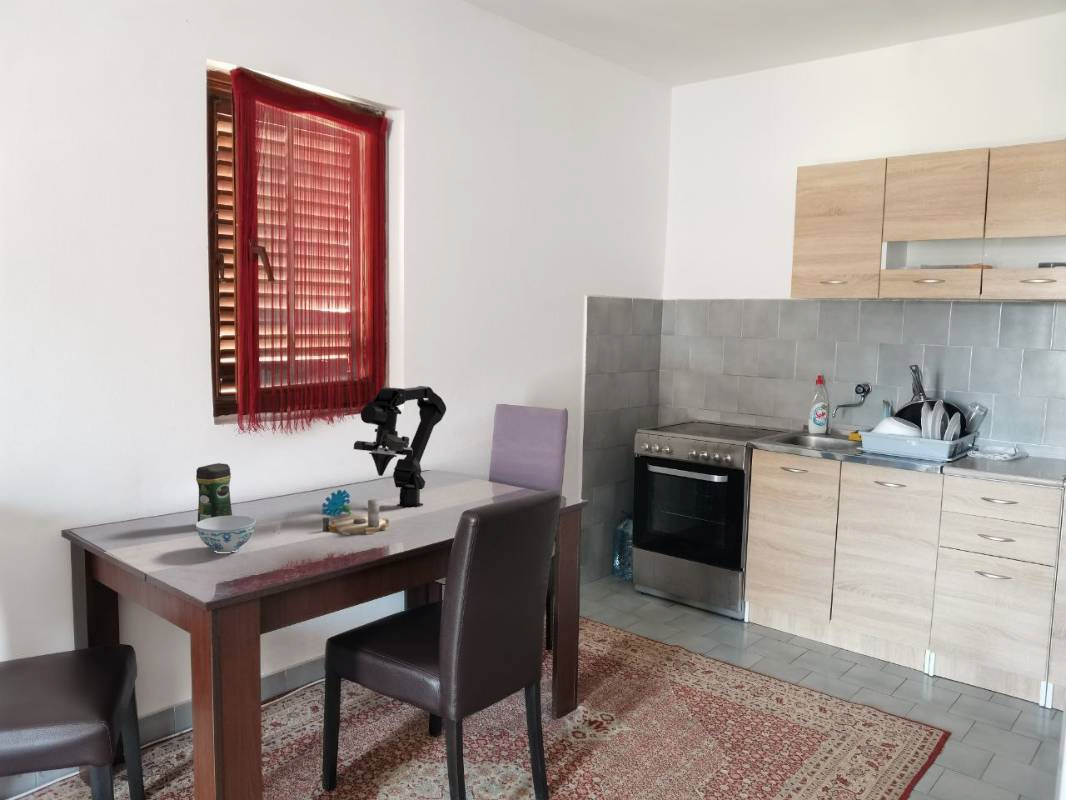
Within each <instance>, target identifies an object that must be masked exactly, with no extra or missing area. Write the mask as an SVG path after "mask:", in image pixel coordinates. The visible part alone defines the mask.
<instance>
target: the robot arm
mask: <svg viewBox="0 0 1066 800" xmlns="http://www.w3.org/2000/svg"><path fill="white" fill-rule="evenodd" d="M414 400H417V401H416V404H417V407H418V408H419V412H418V414H419V418H420V421H419V423H418V425H417V428H416V431H415V434H414V436H413V438H412V441H411V443H410V437H408V436H404V435H403V436H402V437H399V432H398V430H396V428H397V421H398V419H397V418H398V415H402V411H401V410H400V406H402V405H404V404H405V403H406V402H407V401H414ZM446 412H447V406H446V403H445V402H444V400H443V399H442V397H441V396H439V395H438V394H437V393H436V392H434V390H433V389H432V388H431V387H430V386H426V385H425V386H424V385H422V386H421V385H418V386H416V387H407V388H399V387H386V386H385V387H384V386H382V387H381V388H380V389H379V391H378V393H377V394H376V395H375V397H374V398H373V400H372V401H367V405H365V406H364V407H363V408H362V410H361V411H360V419H361V421H362V422H363V423H364V424H369V425H375V426H377V427H376V428H374V432H375V433H376V435H375V436H376V437H375V441H374V440H373V442H372V441H364V440H356V441H355V442H354V443H353V450H357V451H368V454H369V455H370V456H371V457H372V460H373V461H374V466H375V468H376V472H377V475H378V477H379V476H380V477H383V475H384V474H385V472H386V469H387V467H388V466H389V463H390V462H391V461H392V460H393V459H394V458H397V457H398V455H399V456H405V457H404V458H398V460H397V462H396V463H395V464H396V465H395V466H394V468H393V474H392V477H393V481H394V486H395V488H400V489H399V503H397V504H396V506H397V507H400V506H402V507H401V508H406V507H407V508H406V509H408V508H409V509H410V508H412V507H414V508H417V507H416V506H418V507H421V506H424V503H422V502H420V499H421V498H420V497H421V496H420V495H421V490H423V489H424V488H425V486H426V481H425V478H423V477H422V475H421V473H422V467H421V460H422V458H423V455H424V453H425V450H426V448H427V446H428V443H429V440H430V437H431V434H432V432H433V430H434V427H435V426H436V425H437V424H439V422H441V421H442V419H443V418H444V416H445V414H446ZM409 445H410V446H409ZM420 505H421V506H420Z"/></svg>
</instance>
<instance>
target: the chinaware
mask: <svg viewBox="0 0 1066 800" xmlns="http://www.w3.org/2000/svg"><path fill="white" fill-rule="evenodd" d="M256 521H257V520H256V519H255V517H250V516H248V515H247V516H246V515H232V516H220V517H213V518H208V519H204V520H201V521H199V522H198V521H197V522H196V523H195V528H196V532H197V535H198V536H199V538H200V540H201V541H202V542H203V544H204V545H206V546H207V547H209V548H210V549H212V550H214V551H217V552H232V551H236V550H239V549H240V550H241V547H243V545H245V544H246V543H247V542H248V541H249V540H250V539H251V537H252V535H253V533H254V531H255V527H256V523H257V522H256ZM240 550H239V551H240Z"/></svg>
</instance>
